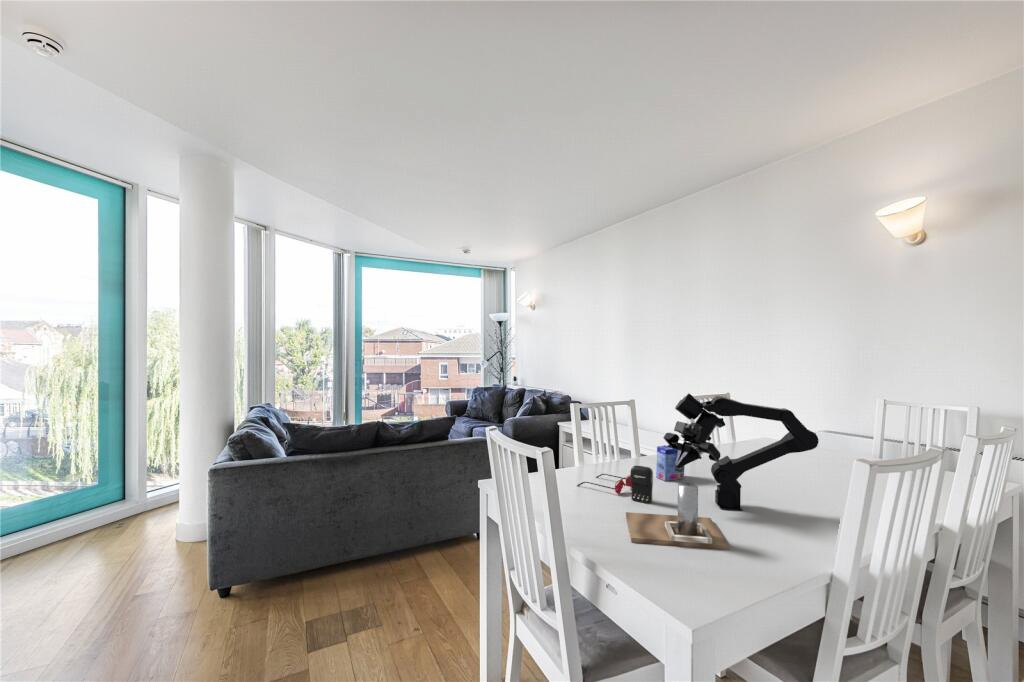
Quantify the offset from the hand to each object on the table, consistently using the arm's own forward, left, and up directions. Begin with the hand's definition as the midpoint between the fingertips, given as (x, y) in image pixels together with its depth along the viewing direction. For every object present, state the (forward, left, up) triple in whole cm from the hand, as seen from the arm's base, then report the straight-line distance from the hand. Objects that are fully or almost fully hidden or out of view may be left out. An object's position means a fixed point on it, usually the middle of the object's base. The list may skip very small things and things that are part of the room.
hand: (676, 467), depth 142 cm
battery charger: (+10, -7, -14) cm, 18 cm away
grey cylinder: (+1, +20, -12) cm, 24 cm away
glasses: (+21, -21, -14) cm, 32 cm away
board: (+4, +16, -14) cm, 22 cm away
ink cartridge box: (-4, -35, -14) cm, 38 cm away
